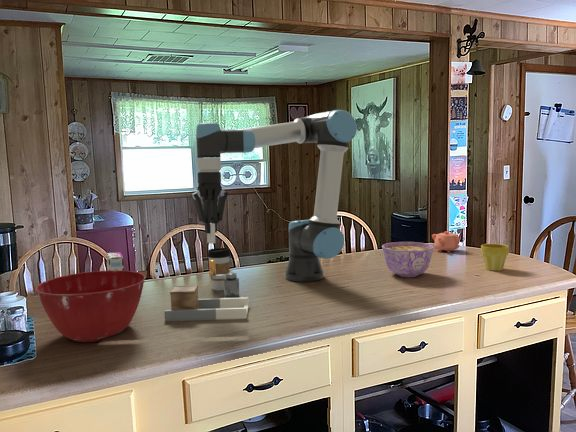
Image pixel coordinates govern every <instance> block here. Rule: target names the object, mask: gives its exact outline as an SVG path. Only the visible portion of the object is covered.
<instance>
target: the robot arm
mask: <svg viewBox="0 0 576 432" xmlns="http://www.w3.org/2000/svg"><path fill="white" fill-rule="evenodd" d="M357 127H358V126H357V121H356V119H355V118H354V117H353V114H351V113H350V112H349V111H347V110H345V109H333V110H330V111H329V110H327V111H323V112H321V111H320V112H318V113H314V114H311V115H308V116H304V117H300V118H299V117H298V118H295V119H294V120H293V121H290V122H283V123H276V124H268V125H261V126H254V127H246V128H241V129H221V127H220V123H218V122H200V123H198V124H197V125H196V132H195V139H196V153H197V154H196V155H197V157H196V164H197V171H198V172H197V184H198V185H197V188H196V191H195V192H193V193H191V194H190V197H191V199H192V200H193V202H194V207H195V210H196V214H197V215H196V216H197V218H198V221H199V222H200V223H203V224H204V233H205V234H206V238H207V239H206V242H207V243H208V244H212V245H213V244H216V233H217V232H218V223H219V222H221V221H223V218H224V217H223V216H224V211H225V205H226V200H227V197H228V195H229V192H228V191H225V190H223V186H222V184H221V183H222V172H221V170H222V165H221V163H222V162H221V157H222V156H221V154H234V153H235V154H236V153H238V154H239V153H243V154H245V153H252V152H253V151H254V150H255V149H257V148H258V149H259V148H264V147H270V146H276V145H282V144H291V143H297V144H299V145H301V144H311V143H312V144H313V143H314V144H316V146H317V148H318V149H319V150H320V154H319V163H318V172H317V181H316V190H315V200H314V201H315V202H314V209H313V215H312V216H311V217H310V218H309V219H303V220H302V219H301V220H293V221H292V220H291V221H290V222H289V224H288V231H287V232H288V249H289V251H288V252H289V253H288V255H289V259H288V262H287V266H286V269H285V275H284V276H285V279H286V280H288V281H292V282H315V281H319V280H322V279H323V278H324V269H323V267H322V263H321V261H320V259H328V260H329V259H333V258H335V257H336V256H337V255H338V254H341V252H342V250H343V247H344V245H345V236H344V234H343V232H342V230H340V228H341V221H339V219H338V209H339V201H340V191H341V181H342V174H343V173H342V172H343V165H344V157H345V156H344V155H345V153H346V152H347V151H348V150H349V146H350V141H352V140H354V138H355V136H356V135H357V132H358V131H357V130H358V128H357ZM201 198H202V199H201ZM202 203H203V204H202Z"/></svg>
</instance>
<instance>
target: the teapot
mask: <svg viewBox="0 0 576 432" xmlns="http://www.w3.org/2000/svg"><path fill="white" fill-rule="evenodd" d="M431 237H432V240H434V244H433V245H434V249H435V250H437V252H440V253H441V252H443V251H446V253H448V254H452V252H456V250H457V249H459V248H460V245H459V243H460V241H461V240H460V239H461V238H460V236H459V235H458V234H457V233H452V232H450V231H448V230H447V231H444V232H440V233H437V234H436V233H433V234H431Z"/></svg>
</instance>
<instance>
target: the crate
mask: <svg viewBox="0 0 576 432" xmlns="http://www.w3.org/2000/svg"><path fill="white" fill-rule="evenodd" d="M169 296H170V305H171V306H170V307H171V308H170V310H183V309H199V303H198V299H199V284H196V285H195V284H194V285H193V284H189V285H188V284H187V285H174V287H173V288H172V289H171V291H170V292H169Z"/></svg>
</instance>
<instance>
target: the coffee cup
mask: <svg viewBox="0 0 576 432" xmlns="http://www.w3.org/2000/svg"><path fill="white" fill-rule="evenodd" d="M230 257H231V250H230V247H218V248H217V247H215V248H210V249H208V250H207V258H208V262H209V261H210V260H215V264H216V275H222V274H226V273H230V263H231V262H230ZM208 267H209V266H208ZM209 269H210V267H209ZM210 279H211V287H212V290H213V291H224V279H226V278H224V279H212V276H210Z"/></svg>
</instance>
